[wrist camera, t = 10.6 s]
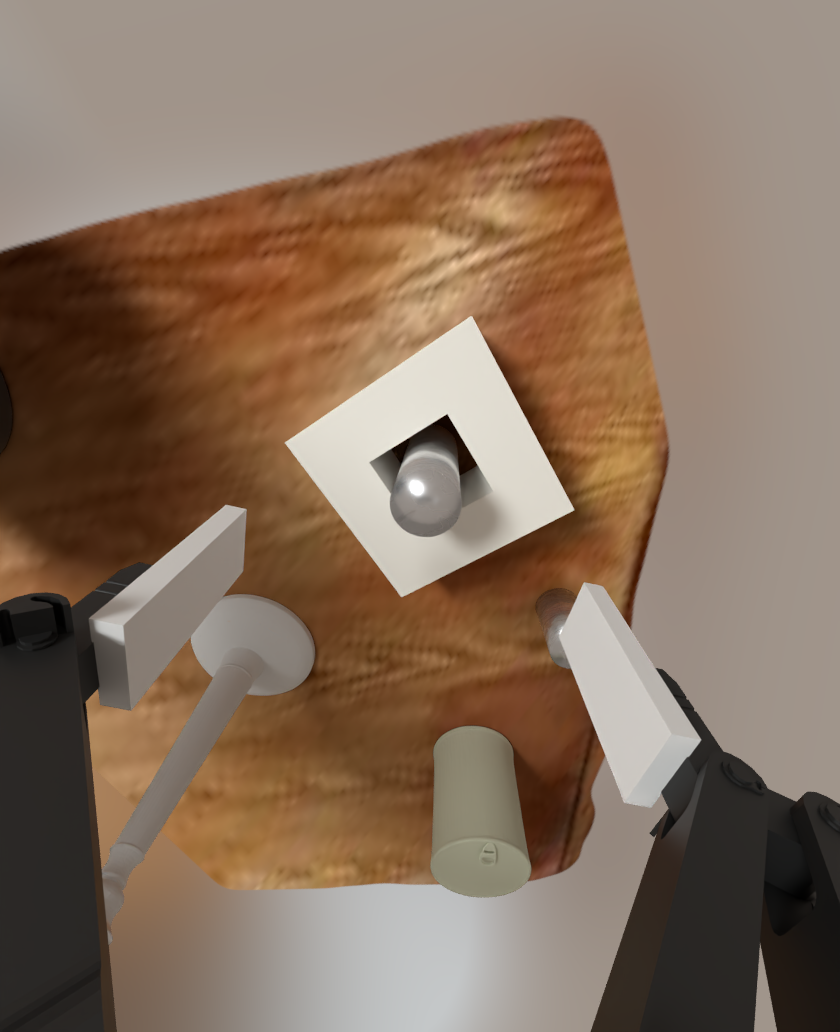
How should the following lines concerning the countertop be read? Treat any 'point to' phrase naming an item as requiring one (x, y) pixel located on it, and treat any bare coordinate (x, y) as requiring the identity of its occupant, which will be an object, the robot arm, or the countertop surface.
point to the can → (477, 815)
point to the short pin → (555, 620)
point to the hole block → (484, 489)
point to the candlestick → (213, 713)
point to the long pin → (428, 484)
